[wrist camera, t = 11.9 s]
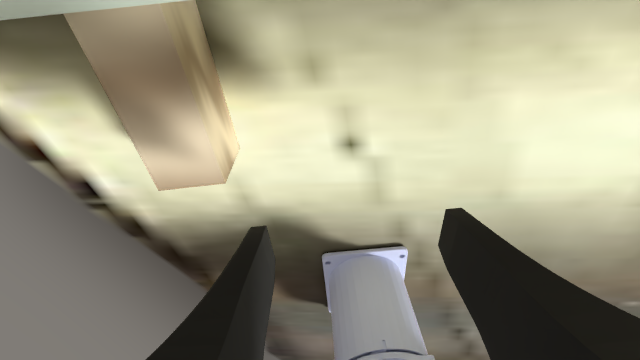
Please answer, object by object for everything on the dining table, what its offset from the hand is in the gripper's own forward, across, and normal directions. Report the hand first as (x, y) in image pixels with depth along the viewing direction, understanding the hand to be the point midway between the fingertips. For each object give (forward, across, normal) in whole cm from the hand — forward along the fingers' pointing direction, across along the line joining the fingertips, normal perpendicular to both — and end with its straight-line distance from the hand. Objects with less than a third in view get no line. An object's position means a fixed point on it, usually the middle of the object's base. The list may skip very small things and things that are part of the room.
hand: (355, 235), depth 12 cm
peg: (+10, +9, -5) cm, 15 cm away
